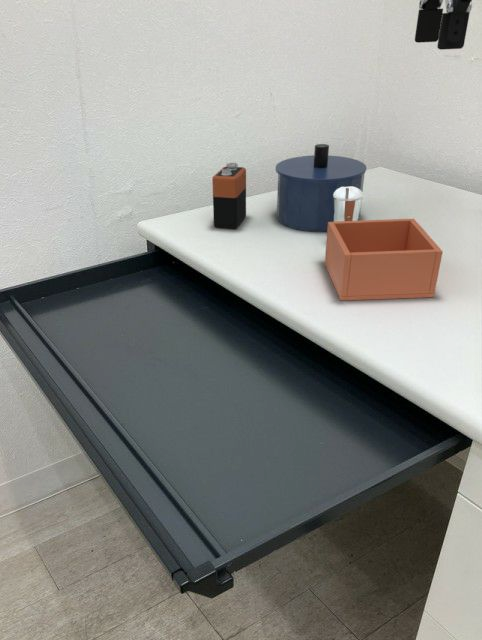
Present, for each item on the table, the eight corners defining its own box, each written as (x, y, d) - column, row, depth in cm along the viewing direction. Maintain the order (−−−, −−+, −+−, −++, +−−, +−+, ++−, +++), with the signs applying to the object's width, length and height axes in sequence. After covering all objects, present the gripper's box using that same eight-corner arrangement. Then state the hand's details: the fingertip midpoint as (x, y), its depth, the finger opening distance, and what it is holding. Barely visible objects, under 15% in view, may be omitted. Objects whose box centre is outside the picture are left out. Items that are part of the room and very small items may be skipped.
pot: (349, 203, 114) (354, 157, 109) (367, 230, 102) (373, 180, 97) (273, 206, 114) (274, 161, 110) (282, 233, 102) (283, 184, 98)
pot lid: (354, 159, 111) (357, 133, 108) (375, 183, 98) (379, 154, 95) (270, 163, 111) (271, 137, 108) (281, 187, 98) (282, 159, 95)
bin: (407, 260, 91) (414, 218, 87) (433, 297, 80) (443, 251, 77) (324, 263, 91) (327, 221, 87) (340, 300, 81) (345, 255, 77)
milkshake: (326, 249, 95) (331, 187, 90) (331, 237, 100) (336, 177, 94) (355, 252, 94) (362, 188, 89) (358, 239, 98) (365, 178, 93)
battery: (246, 217, 110) (246, 161, 104) (236, 230, 104) (236, 172, 99) (224, 215, 111) (223, 160, 105) (212, 228, 106) (211, 171, 100)
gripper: (528, -130, 64) (491, 50, 73) (468, -111, 78) (443, 38, 88) (457, -127, 64) (429, 53, 73) (410, -108, 78) (392, 40, 88)
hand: (437, 45), depth 81 cm, fingers open, 9 cm apart
